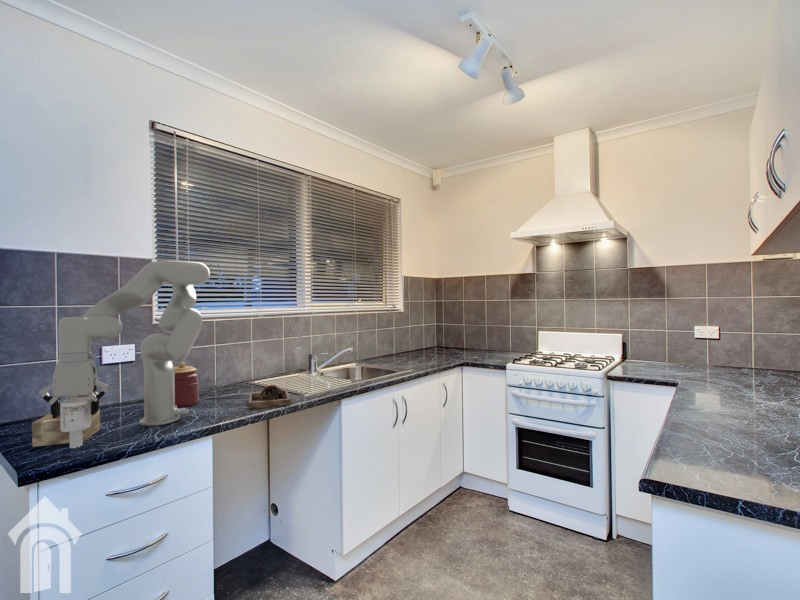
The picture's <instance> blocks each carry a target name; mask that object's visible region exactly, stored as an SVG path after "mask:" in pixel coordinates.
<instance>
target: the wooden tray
mask: <svg viewBox="0 0 800 600" xmlns="http://www.w3.org/2000/svg"><path fill="white" fill-rule="evenodd" d="M282 394H283V396H284V399H277V400H275V399H273V400H269V401H261V391H260V392H251V393H249V395H248V398H249V399H248V410H253V409H254V410H255V409H264V408H265V409H266V408H267V409H268V408H275V407H277V408H278V407H284V406H283V405H287V406H291V397H290V394H289V392H288V390H287V389H285V390H282ZM263 395H265V396H266V393H265V392H264V393H263ZM259 399H260V400H259ZM253 400H259V401H253Z"/></svg>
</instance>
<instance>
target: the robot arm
mask: <svg viewBox="0 0 800 600" xmlns="http://www.w3.org/2000/svg"><path fill="white" fill-rule="evenodd" d="M210 272H211V271H210V269H209V267H208V266H207V265H206V264H205V263H203V262H198V261H182V260H181V261H180V260H159V261H158V260H156V261H151V262H148V263H147V264H145V265H144V266H143V267H142V268H141V269H140V270H139V271H138V272H137V273H135V274H134V276H133V277H132V278H131V279H130V280H128V282H127V283H125V285H123V286H122V287H121V288H119V289H117V290H115V291H113V292H112V293H111V294H109V295H107V296H106V297H104V298H103V299H101V300H100V301H98V302H96V303H95V304H94V305H92V306H91V307H90V308H89V309H88V310H87V311H86V312H85V313H84V314H83V315H81V316H73V317H71V316H70V317H69V316H68V317H61V318H60V319H59V321H58V363H56V364H55V368H54V372H53V377H52V383H51V384H49V385H47V386H46V387H45V386H44V388H42V389H40V390H38V393H39V394H40V396H41V397H42V399H43V400H44V401H46V403H48V405H49V406H50V413H51V415H52V418H56V417H58V416H60V402H61V401H60V399H62V398H67V397H75V396H86V395H88V396H89V397H90V398H91V399H92V402H91V415H94V414H96V413H97V411H99V408H100V400H101V399H102V398H103V397H104V396H105V395H106V393H107V392H108V390H109V389H110V385H109V384H107V383H105V382H102V381H100V380H99V379H98V373H97V372H98V371H97V366H96V363H95V361H94V360H93V359H95V358H97V353H93V352H92V343H91V342H92V340H110V339H115V338H116V337H118V336H120V334H121V333H122V331H123V328H124V325H123V323H122V321H121V320H120V318H118V316H120V315H121V314H123V313H126V312H129V311H131V310H135V309H137V308H139V307H142V306H143V305H145V304H146V303H147V302H149V300H150V299H151V297H153V296H154V295H155V294H156V293H157V291H159V290H160V288H161V287H162V286H164V285H171V287H172V288H171V289H172V295H171V296H172V297H171V298H170V299H169V302H168V303H167V305H166V307H165V309H164V311H163V312H162V314H161V315H160V318H159V321H158V326H159V329H160V330H161V331H163V332H164V333H153V334H150V335H148V336H146V337H145V338H144V339H143V341H141V344H140V355H141V359H142V366H143V384H144V385H143V392H144V393H143V397H144V398H143V402H144V403H143V404H144V405H143V406H144V407H143V408H144V409H143V410H144V411H143V413H144V417H143V418H141V419H139V422H138V423H139V425H140V426H144V427H153V426H161V425H162V426H163V425H167V424H171V423H174V422H177V421H178V420H180V419H181V415H188V414H189V408H185V407H182V408H179V407H177V405H175V372H174V367H175V366H174V363H173V362H179V361H182V360H184V359H185V358H186V357H187V356H188V355H189V353H190V352H191V350H192V348H193V347H194V344H195V342H196V340H197V339H198V336H199V334H200V333H201V329H202V326H203V316H202V314H201V312H200V311H198V309H197V308H196V309H195V306H196V302H197V293H196V290H195V288H194V286H195V285H196V286H198V285H200V286H201V285H203V284H205V283H206V282H208V280H209V279H210V277H211V276H210V275H211V273H210ZM99 388H101V391H100V392H98V390H99ZM51 390H52V395H51V394H50V393H49V391H51ZM97 392H98V393H97Z"/></svg>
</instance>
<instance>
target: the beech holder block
mask: <svg viewBox="0 0 800 600" xmlns="http://www.w3.org/2000/svg"><path fill="white" fill-rule="evenodd" d="M100 410H101V408H100V407H99V411H97V413H96V414H94V415H91V426H90V427H89V428H86V429H83V430H82V433H83V442H85V441H87V440H88V439H89V438H91V437H92V436H93V435H94V434H96V433H97V432H98V431H99V430H101V413H100ZM67 412H70V410H68V411H67ZM87 412H88V409H87ZM63 414H64V410H63ZM31 432H32V433H31V436H32V437H31V438H32V440H31V443H32V444H31V446H32V447H33V448H36V447H44V446H52V445H63V444H70V432H62V431H61V417H60V416H58V417H56V418H52V415H51V412H50V413H48V414H47V415H44V416H42V417H41V418H39V419H37V420H35V421H34V422H33V421H32V423H31Z"/></svg>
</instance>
